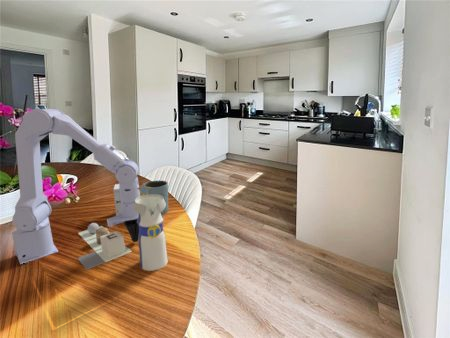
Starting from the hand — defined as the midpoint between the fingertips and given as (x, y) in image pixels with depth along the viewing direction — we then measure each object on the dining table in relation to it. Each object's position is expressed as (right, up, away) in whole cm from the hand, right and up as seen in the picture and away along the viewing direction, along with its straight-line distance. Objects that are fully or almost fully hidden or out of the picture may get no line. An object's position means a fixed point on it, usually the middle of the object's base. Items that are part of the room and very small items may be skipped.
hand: (134, 240), depth 86 cm
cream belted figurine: (+9, -4, -10) cm, 14 cm away
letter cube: (-5, -2, -4) cm, 7 cm away
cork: (-11, -1, +2) cm, 11 cm away
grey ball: (-17, +1, +8) cm, 18 cm away
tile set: (-11, -1, +2) cm, 11 cm away
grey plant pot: (+1, +5, +27) cm, 27 cm away
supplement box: (-11, +4, +23) cm, 25 cm away
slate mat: (-10, -4, -9) cm, 13 cm away
